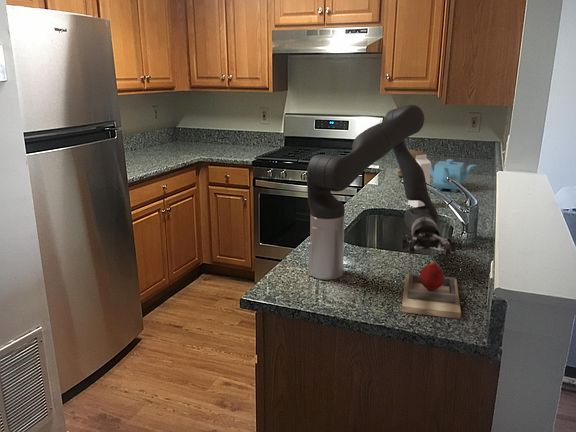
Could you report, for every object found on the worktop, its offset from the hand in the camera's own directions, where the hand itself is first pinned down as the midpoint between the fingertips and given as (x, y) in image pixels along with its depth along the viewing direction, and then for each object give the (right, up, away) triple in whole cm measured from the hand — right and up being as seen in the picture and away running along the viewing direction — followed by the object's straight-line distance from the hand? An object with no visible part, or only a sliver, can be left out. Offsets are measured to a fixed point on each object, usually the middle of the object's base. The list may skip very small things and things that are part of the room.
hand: (430, 251), depth 125 cm
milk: (+18, +13, +79) cm, 82 cm away
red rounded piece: (-2, -10, -6) cm, 11 cm away
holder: (-2, -11, -6) cm, 12 cm away
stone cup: (+31, +31, +140) cm, 147 cm away
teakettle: (+41, +22, +109) cm, 118 cm away
